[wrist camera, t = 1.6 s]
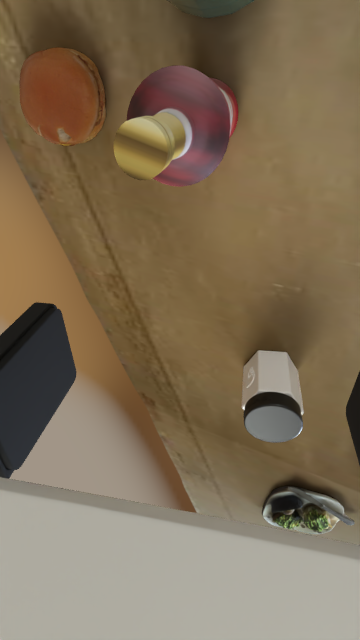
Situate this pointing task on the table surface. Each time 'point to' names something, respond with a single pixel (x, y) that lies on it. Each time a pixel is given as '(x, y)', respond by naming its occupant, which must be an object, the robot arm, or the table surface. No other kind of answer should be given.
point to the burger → (62, 96)
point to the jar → (272, 397)
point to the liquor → (176, 127)
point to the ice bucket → (209, 7)
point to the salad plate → (303, 510)
